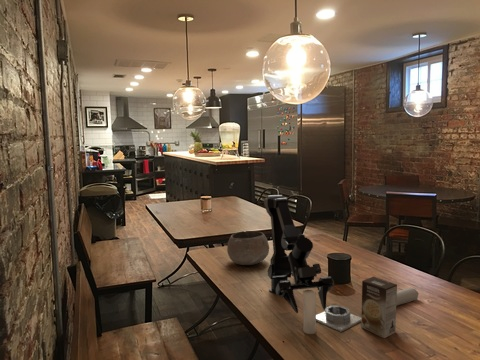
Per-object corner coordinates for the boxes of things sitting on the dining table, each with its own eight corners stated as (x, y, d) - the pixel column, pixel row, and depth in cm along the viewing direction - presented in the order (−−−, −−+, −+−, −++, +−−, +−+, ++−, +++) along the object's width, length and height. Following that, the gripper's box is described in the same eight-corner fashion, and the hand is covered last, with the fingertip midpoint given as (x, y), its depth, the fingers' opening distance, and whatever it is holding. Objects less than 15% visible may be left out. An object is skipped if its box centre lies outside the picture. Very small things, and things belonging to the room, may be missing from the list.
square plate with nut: (312, 319, 136) (312, 309, 136) (334, 309, 144) (334, 300, 143) (341, 332, 127) (341, 322, 126) (362, 320, 134) (363, 311, 134)
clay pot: (237, 273, 184) (237, 241, 182) (221, 260, 203) (220, 231, 201) (277, 266, 192) (277, 235, 191) (258, 255, 211) (257, 227, 210)
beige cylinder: (300, 330, 128) (300, 292, 127) (309, 326, 131) (308, 288, 129) (310, 335, 125) (310, 295, 124) (318, 331, 128) (318, 292, 126)
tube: (408, 286, 154) (360, 298, 143) (419, 286, 150) (371, 299, 138) (411, 300, 153) (364, 314, 142) (423, 300, 149) (375, 315, 137)
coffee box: (360, 327, 130) (360, 280, 128) (372, 322, 133) (373, 275, 131) (384, 338, 122) (385, 288, 120) (396, 332, 126) (398, 283, 124)
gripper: (277, 257, 127) (288, 304, 118) (331, 253, 131) (346, 298, 121) (271, 273, 136) (281, 318, 126) (322, 268, 140) (335, 311, 130)
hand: (311, 311), depth 126 cm, fingers open, 9 cm apart
